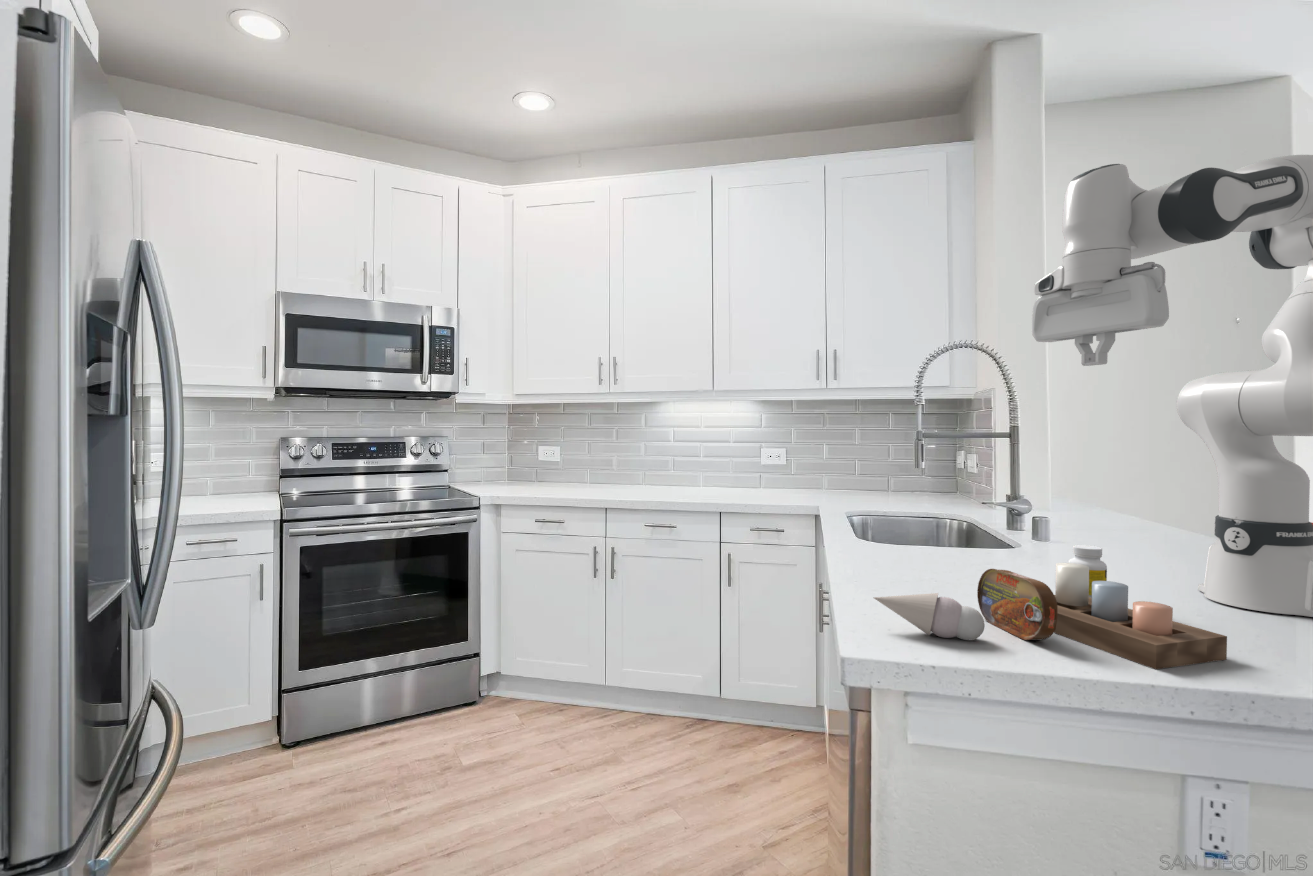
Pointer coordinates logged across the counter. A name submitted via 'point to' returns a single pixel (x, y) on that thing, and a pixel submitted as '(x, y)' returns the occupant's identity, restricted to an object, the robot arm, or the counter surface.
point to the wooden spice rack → (1141, 639)
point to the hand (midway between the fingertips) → (1094, 365)
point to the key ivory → (1072, 584)
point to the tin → (1017, 604)
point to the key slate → (1110, 601)
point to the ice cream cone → (937, 615)
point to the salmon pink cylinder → (1152, 618)
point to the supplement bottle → (1090, 562)
